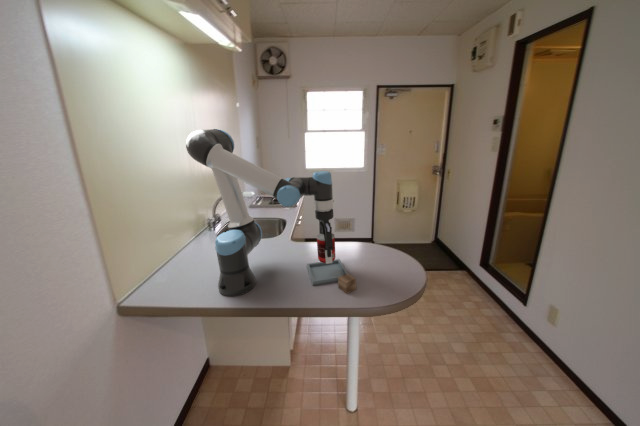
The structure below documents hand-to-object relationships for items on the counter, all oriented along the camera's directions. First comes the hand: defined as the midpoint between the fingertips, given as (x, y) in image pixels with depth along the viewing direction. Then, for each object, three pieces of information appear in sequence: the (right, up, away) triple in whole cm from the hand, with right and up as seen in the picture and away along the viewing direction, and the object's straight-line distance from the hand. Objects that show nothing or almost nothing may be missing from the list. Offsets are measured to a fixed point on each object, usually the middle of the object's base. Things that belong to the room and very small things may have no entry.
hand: (326, 258), depth 121 cm
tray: (0, -7, +2) cm, 8 cm away
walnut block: (+8, -11, -10) cm, 17 cm away
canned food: (0, 0, 0) cm, 0 cm away
